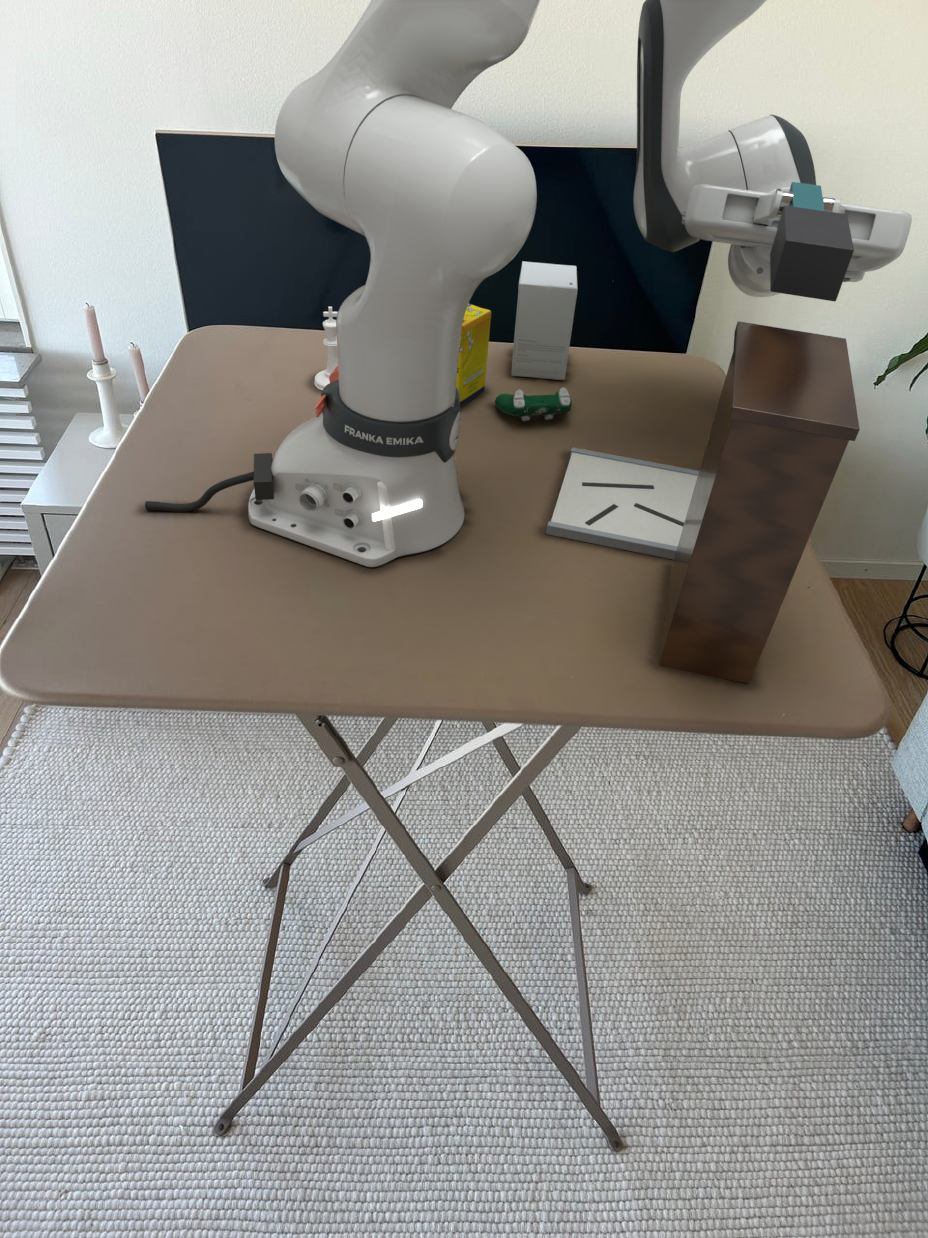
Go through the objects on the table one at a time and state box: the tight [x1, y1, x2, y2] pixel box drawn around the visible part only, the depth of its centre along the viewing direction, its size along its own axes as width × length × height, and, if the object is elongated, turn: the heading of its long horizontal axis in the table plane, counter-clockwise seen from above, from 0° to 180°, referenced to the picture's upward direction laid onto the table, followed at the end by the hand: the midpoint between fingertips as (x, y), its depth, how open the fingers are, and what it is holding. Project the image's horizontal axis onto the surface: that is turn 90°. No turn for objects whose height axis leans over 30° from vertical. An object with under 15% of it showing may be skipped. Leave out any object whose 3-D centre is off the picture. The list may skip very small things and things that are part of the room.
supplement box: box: [456, 303, 492, 408], centre depth 109 cm, size 6×6×11 cm
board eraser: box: [770, 182, 854, 302], centre depth 74 cm, size 5×19×4 cm, turn 166°
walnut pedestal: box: [658, 320, 861, 685], centre depth 75 cm, size 9×15×26 cm, turn 166°
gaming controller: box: [494, 387, 573, 422], centre depth 108 cm, size 9×4×6 cm
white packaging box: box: [511, 260, 579, 381], centre depth 115 cm, size 7×7×13 cm
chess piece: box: [313, 306, 338, 391], centre depth 109 cm, size 5×5×10 cm
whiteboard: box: [545, 447, 699, 561], centre depth 96 cm, size 18×16×1 cm
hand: (807, 204), depth 77 cm, fingers closed on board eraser, 2 cm apart
